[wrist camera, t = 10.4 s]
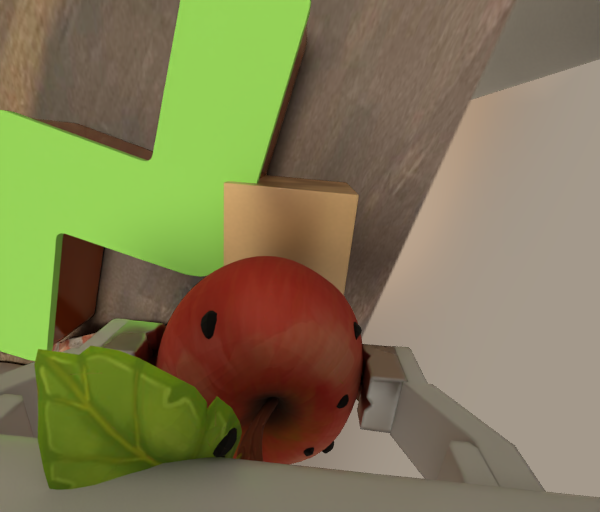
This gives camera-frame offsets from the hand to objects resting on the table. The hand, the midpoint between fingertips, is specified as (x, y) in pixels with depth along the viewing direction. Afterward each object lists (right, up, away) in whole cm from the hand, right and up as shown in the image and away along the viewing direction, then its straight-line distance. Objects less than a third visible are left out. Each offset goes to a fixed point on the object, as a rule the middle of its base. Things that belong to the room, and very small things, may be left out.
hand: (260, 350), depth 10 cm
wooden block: (+1, +6, +16) cm, 17 cm away
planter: (-11, +9, +15) cm, 21 cm away
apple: (0, +1, +4) cm, 5 cm away
